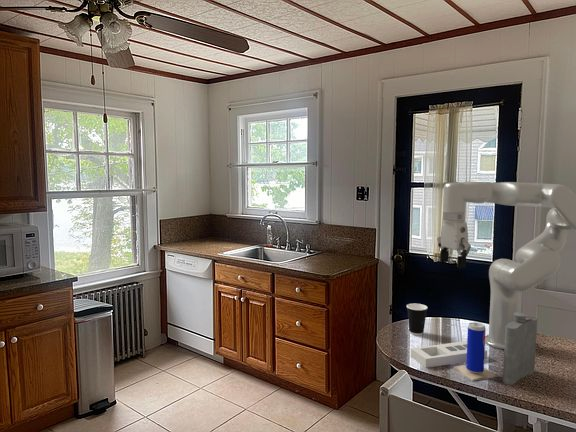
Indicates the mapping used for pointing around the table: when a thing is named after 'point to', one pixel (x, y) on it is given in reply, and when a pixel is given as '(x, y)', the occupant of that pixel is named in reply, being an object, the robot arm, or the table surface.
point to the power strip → (441, 354)
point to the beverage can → (475, 347)
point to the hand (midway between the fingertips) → (452, 264)
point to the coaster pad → (474, 376)
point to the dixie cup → (416, 318)
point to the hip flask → (519, 348)
